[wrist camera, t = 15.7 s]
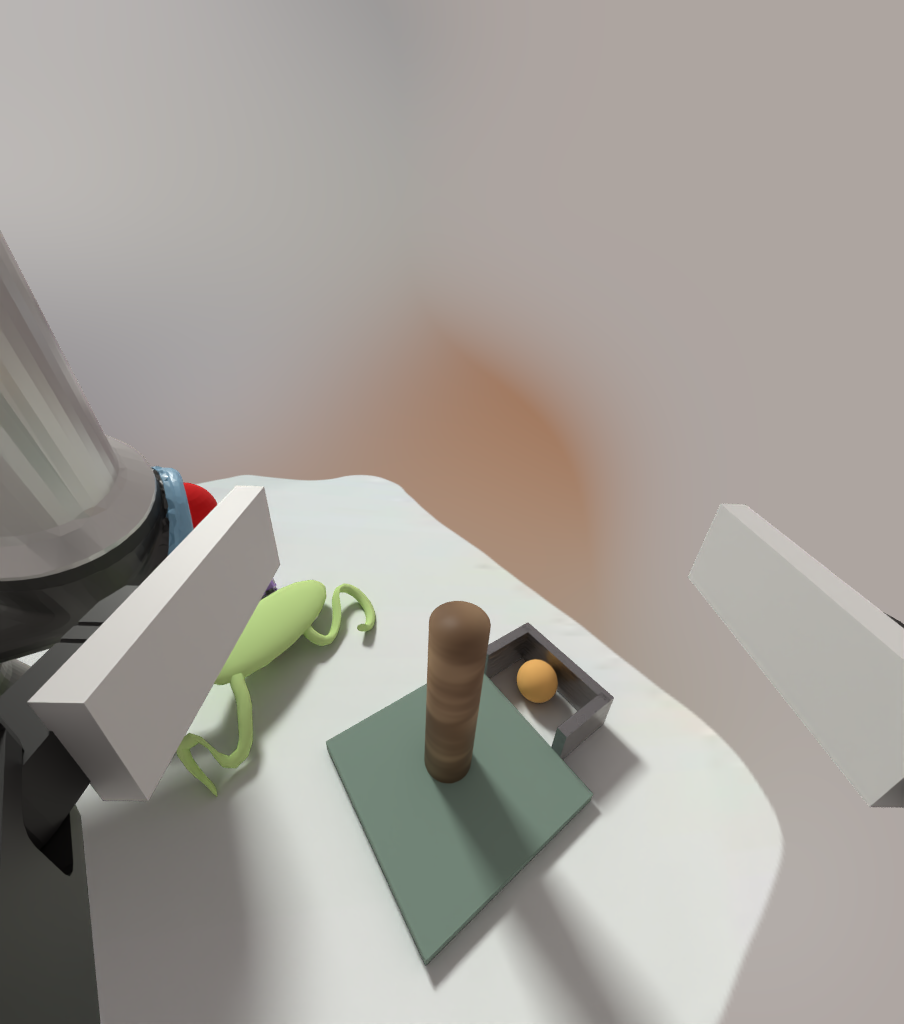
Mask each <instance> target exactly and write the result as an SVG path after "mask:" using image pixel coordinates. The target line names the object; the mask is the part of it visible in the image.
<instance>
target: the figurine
mask: <svg viewBox="0 0 904 1024" xmlns="http://www.w3.org/2000/svg"><path fill="white" fill-rule="evenodd" d="M275 589H276V583H275V581H274V579H273V578H272V580H271V582H270V584H269V586H268V587H267V589H266V591H265V593H264V594H263V595H265V594H266V595H268V594H270V593H272V592H274V590H275ZM340 592H345V593H347V594H349V595H351V596H353V597H354V598H355V599H356V600H357V601H358V602H359V603H360V605H361V606H362V608H363V609H364V611H365V615H366V623H365V624H360V625H358V627H357V629H358V630H359V631H370V630H371V629H372V627H373V626H374V623H375V611H374V608H373V606H372V604H371V602H370V601H369V599H368V598H367V597H366V596H365V594H364V593H363V592H361V591H360V590H359V589H358V588H356V587H354V586H352V585H349V584H342V585H340V586H338V587H337V588H336V589H335V591H334V594H333V597H332V610H333V618H332V625H331V629H330V632H329V634H328V635H326V636H324V635H322V634H319V633H318V632H317V631H315V630H314V629H313V628H312V626H311V624H312V623H313V622H314V620H316V619H317V617H318V614H319V613H320V611H321V610H322V607H323V605H324V602H325V599H326V588H325V586H324V585H323V584H322V583H320V582H318V581H315V580H307V581H301V582H296V583H293V584H291V585H288V586H286V587H283V588H281V589H279V590H277V591H275V592H274V593H272V594H270V595H269V596H267V597H265V598H264V599H262V600H260V602H259V603H258V605H257V607H256V609H255V611H254V612H253V614H252V616H251V618H250V620H249V621H248V623H247V625H246V627H245V629H244V630H243V632H242V634H241V636H240V638H239V639H238V641H237V643H236V645H235V647H234V648H233V650H232V652H231V654H230V655H229V657H228V659H227V661H226V663H225V664H224V666H223V668H222V670H221V672H220V673H219V675H218V677H217V679H216V681H215V682H214V684H217V685H224V684H227V683H230V685H231V688H232V690H233V693H234V695H235V699H236V703H237V715H238V731H239V740H238V745H237V749H236V750H235V751H234V752H233V753H232V754H231V755H230V756H228V755H225V754H221V753H219V752H218V751H216V750H215V749H214V748H213V747H212V746H211V745H210V744H209V743H207V742H206V741H205V740H204V739H203V738H202V737H200V736H197V735H194V734H191V733H188V734H187V735H186V736H184V738H183V740H182V742H181V743H180V745H179V747H178V749H177V756H178V757H179V759H180V760H181V761H182V763H183V764H184V766H185V767H186V769H187V770H188V771H189V772H190V773H191V774H192V775H193V776H194V777H196V778H197V779H199V780H200V781H201V782H202V783H203V784H204V785H206V786H207V787H208V788H209V790H210V791H211V792H212V793H213V794H214V795H215V796H217V791H216V788H215V785H214V784H213V783H212V782H211V780H210V779H209V778H208V777H207V776H206V775H205V774H204V773H203V772H202V770H201V769H200V768H199V767H198V765H197V764H196V762H195V761H194V759H193V758H192V755H191V752H190V748H192V747H194V746H195V745H197V744H198V743H200V744H201V745H203V746H204V747H206V748H208V749H209V751H210V752H211V754H212V755H213V756H214V758H215V759H216V760H217V761H218V763H219V764H220V765H221V766H222V767H225V768H237V767H238V766H239V765H240V764H241V763H242V762H243V761H244V760H245V759H246V758H247V757H248V755H249V752H250V749H251V745H252V742H253V722H252V702H251V698H250V693H249V690H248V688H247V685H246V683H245V677H247V676H249V675H250V674H252V673H254V672H256V671H257V670H259V669H261V668H263V667H264V666H266V665H268V664H269V663H270V662H271V661H273V660H274V659H275V658H277V657H278V656H279V655H280V654H282V653H283V652H284V651H285V650H287V649H288V648H289V647H290V646H291V645H293V644H294V643H295V642H296V641H297V639H298V638H299V637H300V636H301V635H302V634H303V635H304V636H305V637H306V638H307V639H308V640H309V641H311V642H312V643H314V644H316V645H319V646H325V645H329V644H331V643H332V642H333V640H334V639H335V637H336V636H337V634H338V631H339V628H340V624H341V605H340V598H339V593H340Z"/></svg>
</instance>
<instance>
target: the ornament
mask: <svg viewBox="0 0 904 1024" xmlns="http://www.w3.org/2000/svg"><path fill="white" fill-rule="evenodd" d="M183 484H184V488H185V491H186V496H187V500H188V504H189V509H190V514H191V519H192V524H193V529H195V528H196V527H197V525H198V524H199V523H200V522H201V521H202V520H203V519H204V518H205V517H206V516H207V515H208V514H209V513H210V512H211V511H212V510H213V509H214V508H215V507H216V506H217V502H216V500H215V499H214V497H213V496H212V495H211V494H210V493H209V492H208V491H207V490H205V489H204V488H202V487H200V486H198V485H195V484H191V483H183Z"/></svg>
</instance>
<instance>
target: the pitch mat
mask: <svg viewBox="0 0 904 1024" xmlns="http://www.w3.org/2000/svg"><path fill="white" fill-rule="evenodd" d="M426 697H427V684H425V685H424V686H422V687H420V688H418V689H417V690H415V691H413V692H411V693H410V694H408V695H406V696H404V697H403V698H401V699H399V700H398V701H396V702H394V703H392V704H391V705H389V706H387V707H385V708H384V709H382V710H380V711H378V712H377V713H375V714H373V715H371V716H370V717H368V718H366V719H364V720H363V721H361V722H359V723H358V724H356V725H354V726H352V727H351V728H349V729H347V730H345V731H344V732H342V733H340V734H338V735H337V736H335V737H333V738H331V739H330V740H328V741H326V745H327V749H328V751H329V753H330V756H331V758H332V760H333V762H334V764H335V767H336V769H337V771H338V773H339V776H340V778H341V780H342V782H343V784H344V787H345V789H346V791H347V793H348V795H349V798H350V800H351V802H352V804H353V807H354V809H355V811H356V813H357V815H358V818H359V820H360V822H361V824H362V826H363V829H364V831H365V833H366V835H367V838H368V840H369V842H370V844H371V846H372V849H373V851H374V853H375V855H376V857H377V860H378V862H379V864H380V866H381V868H382V871H383V873H384V875H385V877H386V880H387V882H388V884H389V886H390V888H391V891H392V893H393V895H394V897H395V899H396V902H397V904H398V906H399V908H400V911H401V913H402V915H403V917H404V919H405V922H406V924H407V926H408V928H409V930H410V933H411V935H412V937H413V939H414V942H415V944H416V946H417V948H418V950H419V953H420V955H421V957H422V959H423V961H424V964H425V966H426V965H427V964H428V963H429V962H430V961H431V960H432V959H433V958H434V957H435V956H436V955H437V954H438V953H439V952H440V951H441V950H442V949H443V948H444V947H445V946H446V945H447V944H448V943H449V942H450V941H451V940H452V939H453V938H454V937H455V936H456V935H457V934H458V933H459V932H460V931H461V930H462V929H463V928H464V927H465V926H466V925H467V924H468V923H469V922H470V921H471V920H472V919H473V918H474V917H475V916H476V915H477V914H478V913H479V912H480V911H481V910H482V909H483V908H484V907H485V906H486V905H487V904H488V903H489V902H490V901H491V900H492V899H493V898H494V897H495V896H496V895H497V894H498V893H499V892H500V891H501V890H502V889H503V888H504V887H505V886H506V885H507V884H508V883H509V882H510V881H511V880H512V879H513V878H514V877H515V876H516V875H517V874H518V873H519V871H520V870H521V869H522V868H523V867H524V866H525V865H526V864H527V863H528V862H529V861H530V860H531V859H532V858H533V857H534V856H535V855H536V854H537V853H538V852H539V851H540V850H541V849H542V848H543V847H544V846H545V845H546V844H547V843H548V842H549V841H550V840H551V839H552V838H553V837H554V836H555V835H556V834H557V833H558V832H559V831H560V830H561V829H562V828H563V827H564V826H565V825H566V824H567V823H568V822H569V821H570V820H571V819H572V818H573V817H574V816H575V815H576V814H577V813H578V812H579V811H580V810H581V809H582V808H583V807H584V806H585V805H586V804H587V803H588V802H589V801H590V800H591V798H592V796H593V793H592V792H591V791H590V790H589V789H588V788H587V787H586V785H585V784H584V783H583V782H582V781H581V780H580V779H579V778H578V777H577V776H576V774H575V773H574V772H573V771H572V770H571V769H570V768H569V767H568V766H567V764H566V763H565V762H564V761H563V760H562V759H561V758H560V757H559V756H558V754H557V753H556V752H555V751H554V750H553V749H552V748H551V747H550V746H549V744H548V743H547V742H546V741H545V740H544V739H543V738H542V737H541V736H540V734H539V733H538V732H537V731H536V730H535V729H534V728H533V727H532V726H531V725H530V723H529V722H528V721H527V720H526V719H525V718H524V717H523V716H522V715H521V713H520V712H519V711H518V710H517V709H516V708H515V707H514V706H513V705H512V703H511V702H510V701H509V700H508V699H507V698H506V697H505V696H504V695H503V693H502V692H501V691H500V690H499V689H498V688H497V687H496V686H495V685H494V683H493V682H492V681H491V680H490V679H489V678H488V677H487V676H486V675H485V674H484V676H483V683H482V690H481V697H480V704H479V711H478V718H477V725H476V732H475V739H474V746H473V753H472V760H471V766H470V769H469V771H468V773H467V774H466V776H465V777H464V778H462V779H461V780H460V781H457V782H455V783H442V782H439V781H437V780H435V779H434V778H433V777H432V776H431V775H430V774H429V773H428V771H427V769H426V766H425V762H424V753H425V725H426Z"/></svg>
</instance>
